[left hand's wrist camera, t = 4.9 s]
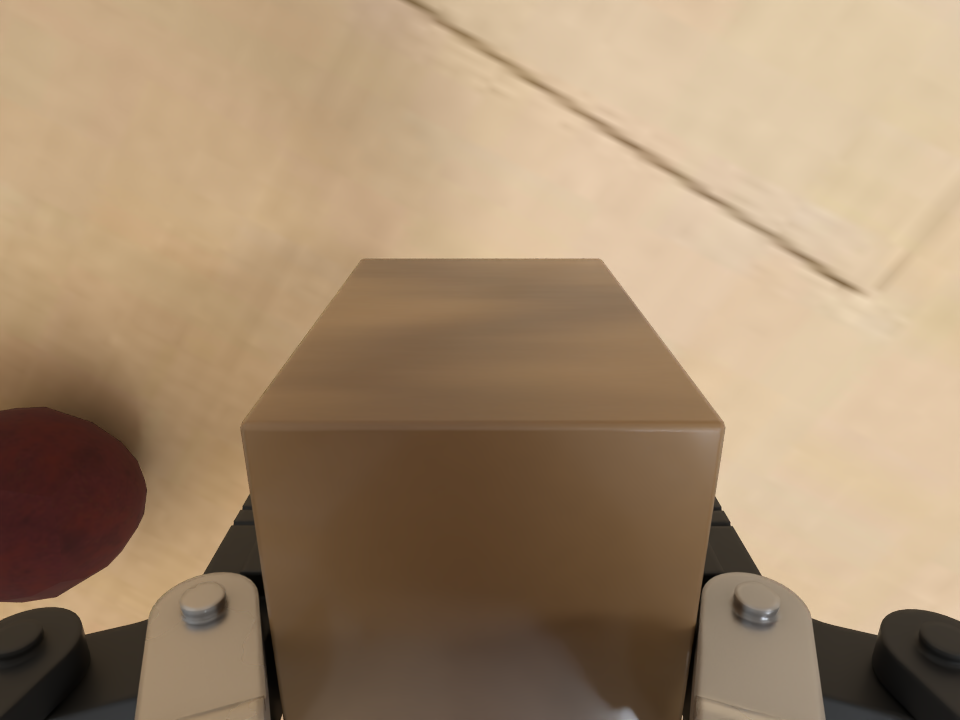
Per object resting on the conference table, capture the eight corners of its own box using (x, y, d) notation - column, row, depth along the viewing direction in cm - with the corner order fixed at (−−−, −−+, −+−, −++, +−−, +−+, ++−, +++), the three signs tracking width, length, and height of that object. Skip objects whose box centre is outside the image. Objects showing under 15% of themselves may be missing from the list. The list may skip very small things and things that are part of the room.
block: (602, 257, 13) (729, 423, 7) (581, 562, 16) (656, 903, 9) (360, 258, 13) (236, 423, 7) (381, 562, 16) (308, 902, 9)
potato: (-27, 372, 27) (-188, 461, 21) (166, 384, 27) (67, 476, 21) (7, 523, 30) (-125, 644, 23) (182, 533, 30) (100, 656, 23)
